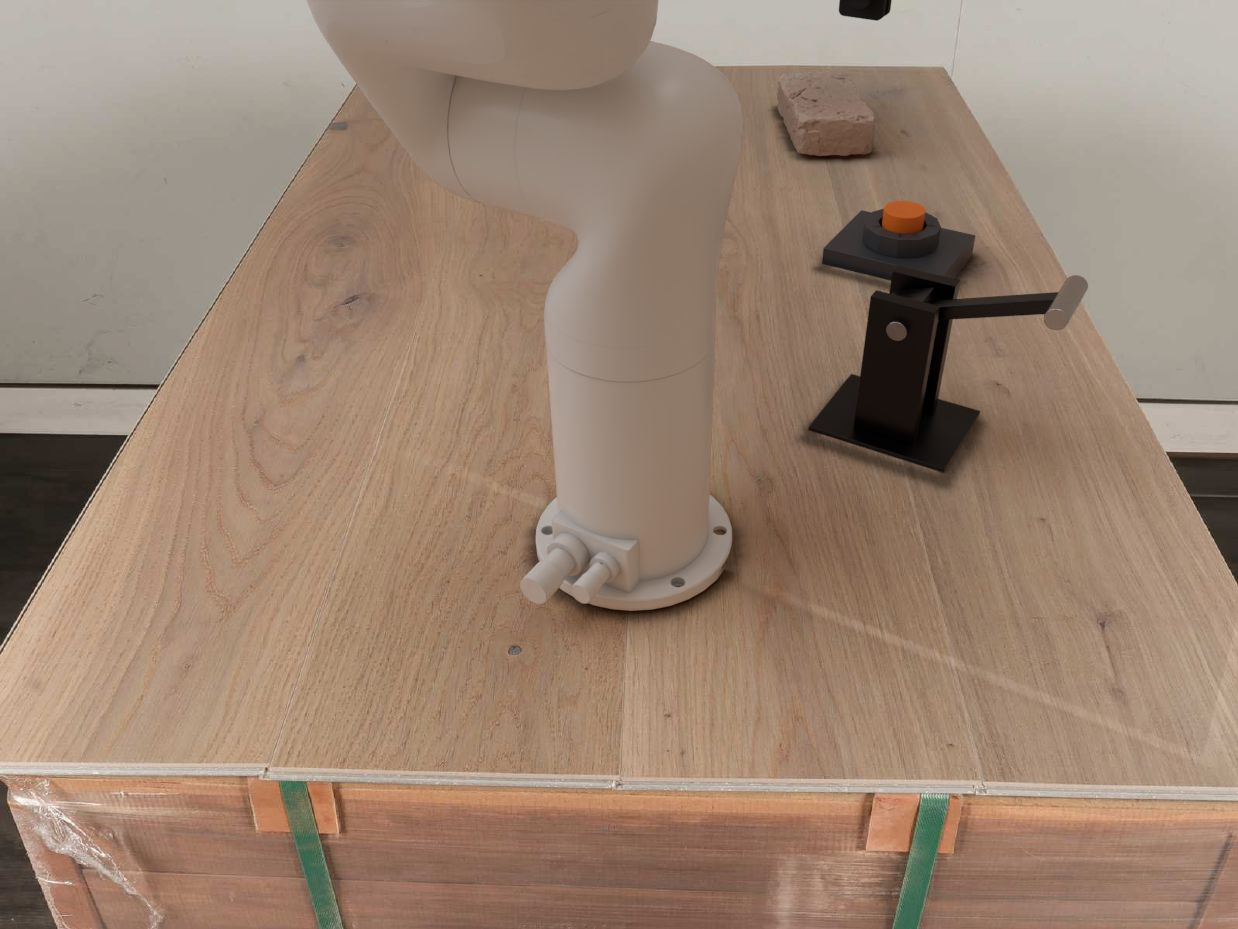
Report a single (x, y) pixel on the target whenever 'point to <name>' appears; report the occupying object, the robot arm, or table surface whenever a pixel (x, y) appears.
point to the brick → (825, 114)
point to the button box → (897, 248)
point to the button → (903, 217)
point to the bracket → (902, 380)
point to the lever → (1010, 303)
